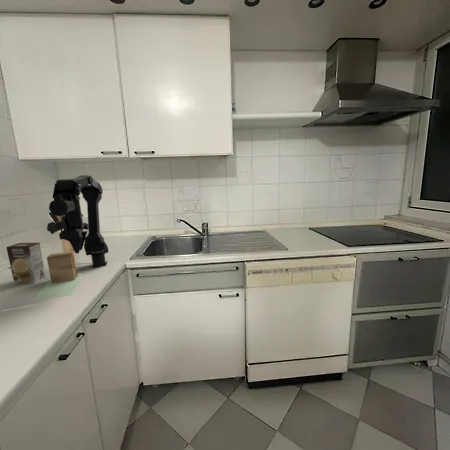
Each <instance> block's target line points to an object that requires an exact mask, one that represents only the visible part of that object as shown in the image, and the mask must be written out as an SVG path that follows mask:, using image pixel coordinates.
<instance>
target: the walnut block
mask: <svg viewBox="0 0 450 450" xmlns="http://www.w3.org/2000/svg"><path fill="white" fill-rule="evenodd" d="M74 253H75V251H74V250H73V251H65V252H57V253H51V254H49V255H48V256H47V257H46V261H47V266H48V272H49V277H50V279H51V282H52V284H53V283H59V282H66V281H72V280H75V279H76V277H77V274H78V272H77V271H78V270H77V265H76V259H75V254H74Z"/></svg>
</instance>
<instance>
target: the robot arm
mask: <svg viewBox="0 0 450 450" xmlns="http://www.w3.org/2000/svg"><path fill="white" fill-rule="evenodd" d="M103 191H104V190H103V188H102V186H101V184H100V181H99V182H98V181H97V180H95V179H94V178H93V177H92V175H88V174H86V175H85V174H84V175H78V176H77V177H74V178H70V179H69V178H66V179H57V180H56V181H55V183H54V187H53V193H52V199H53V200H52V201H50V203H49V206H48V209H49V211H50V212H49V213H51V214H53V215H54V216H56V217H57V216H58V217H61V216H62V217H61V220H60V221H58V222H55V221H51V222H49V223H47V226H46V231H47V232H49V233H50V234H51V235H54V234H55V233H56V232H59V231H60V232H59V234H58V236H59V240H60V241H61V240H65V241H67V242H69V244H70V245H71V247H72V249H73V252H74V253H75V254H80V251H82V250H83V249H84V251H85V254H86V256H91V266H90V268H91V269H95V268H101V267H102V268H103V267H106V266H107V265H108V261H106V256H105V254H108V253H109V247H108V244H107V243H106V241H105V238H104V236H103V235H102V234H101V231H100V230H101V229H100V227H101V226H100V211H99V203H100V201H101V200H102V197H103V196H102V195H103ZM80 195H82V198H83V199H84V201H85V202H86V206H87V222H83V217H84V214H83V213H82V209H81V203H80V199H81V197H80Z"/></svg>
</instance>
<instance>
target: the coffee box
mask: <svg viewBox="0 0 450 450" xmlns="http://www.w3.org/2000/svg"><path fill="white" fill-rule="evenodd" d="M5 248H6V253H7V257H8V262H9V266H10V270H11V276H12V280H13V281H12V282H13V284H14V285H18V284H19V285H20V284H36V283H38V282H39V281H41V280H43V279H45V278H46V270H45V267H44V266H45V264H44V260H43V255H42V249H41V243H40V242H18V243H15V244H12V245H9V246H6V247H5Z"/></svg>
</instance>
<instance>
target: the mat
mask: <svg viewBox="0 0 450 450" xmlns="http://www.w3.org/2000/svg"><path fill="white" fill-rule="evenodd" d="M84 274H85V273H84V272H82V273H77V277H76V279H75V280H72V281H66V282H59V283H53V284H52V282H51V278H50V279H49V280H48V281H47V283H46V284H45V285H44V286H43V287H42V288H41V289H40V290H39V291H38V292H37V294H36V295H35V296H34V297H33V298H32V299H31V300H30V302H34V301H40V300H47V299H53V298H58V297H64V296H70V295H72V293H73V292H74V290H75V289H76V287H77V285H78V284H79V282H80V280H81V278H82V277H83V275H84Z"/></svg>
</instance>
